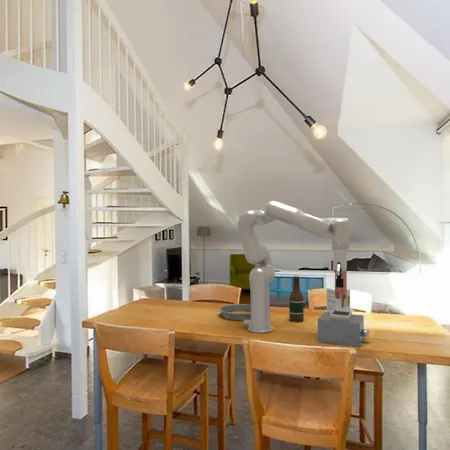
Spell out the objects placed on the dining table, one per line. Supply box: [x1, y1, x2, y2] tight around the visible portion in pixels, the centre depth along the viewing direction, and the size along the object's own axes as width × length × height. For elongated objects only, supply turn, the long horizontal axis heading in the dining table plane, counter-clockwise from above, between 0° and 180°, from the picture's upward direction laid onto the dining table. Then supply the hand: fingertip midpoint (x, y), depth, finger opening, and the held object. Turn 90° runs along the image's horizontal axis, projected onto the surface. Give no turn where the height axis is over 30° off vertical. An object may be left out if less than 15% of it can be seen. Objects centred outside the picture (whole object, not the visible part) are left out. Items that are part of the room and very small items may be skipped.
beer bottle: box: [288, 275, 305, 323], centre depth 208 cm, size 8×8×24 cm
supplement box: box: [326, 286, 351, 312], centre depth 211 cm, size 10×9×17 cm
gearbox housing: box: [316, 310, 370, 348], centre depth 174 cm, size 21×16×12 cm
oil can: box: [334, 269, 348, 299], centre depth 175 cm, size 5×5×15 cm
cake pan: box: [219, 303, 251, 321], centre depth 220 cm, size 25×25×4 cm
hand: (340, 286), depth 175 cm, fingers closed on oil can, 5 cm apart
